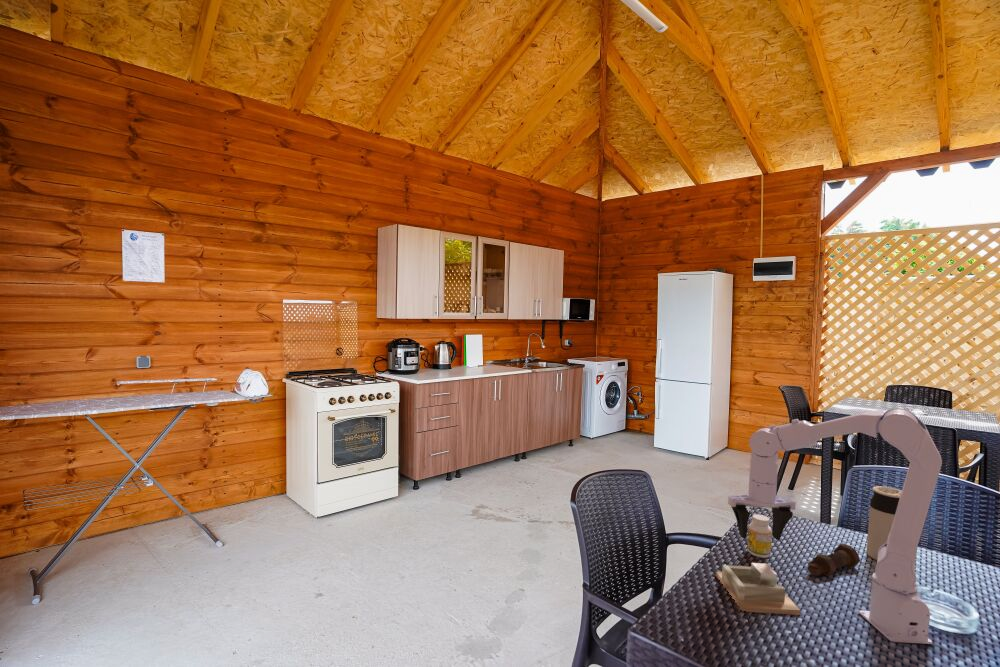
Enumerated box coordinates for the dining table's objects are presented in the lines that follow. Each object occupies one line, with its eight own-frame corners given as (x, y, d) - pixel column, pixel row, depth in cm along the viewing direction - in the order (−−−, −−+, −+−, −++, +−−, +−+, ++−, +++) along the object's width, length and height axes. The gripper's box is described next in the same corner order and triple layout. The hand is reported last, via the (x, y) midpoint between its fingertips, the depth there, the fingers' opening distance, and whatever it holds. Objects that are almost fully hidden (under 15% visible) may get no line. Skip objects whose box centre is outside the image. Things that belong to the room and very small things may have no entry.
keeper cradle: (800, 614, 105) (801, 596, 104) (741, 611, 105) (743, 592, 105) (767, 578, 119) (768, 562, 118) (716, 575, 119) (717, 559, 119)
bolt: (808, 583, 121) (844, 568, 128) (828, 582, 117) (864, 566, 124) (798, 557, 123) (833, 544, 130) (816, 555, 119) (852, 542, 126)
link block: (775, 596, 109) (777, 574, 109) (759, 595, 110) (760, 573, 109) (765, 585, 114) (767, 563, 114) (750, 584, 114) (751, 562, 114)
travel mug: (859, 553, 133) (864, 487, 132) (879, 549, 136) (884, 484, 135) (891, 568, 126) (897, 498, 125) (911, 563, 129) (917, 494, 128)
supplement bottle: (771, 560, 128) (774, 523, 127) (748, 555, 130) (750, 519, 129) (768, 550, 133) (770, 515, 133) (746, 546, 135) (748, 511, 134)
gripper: (785, 476, 120) (782, 531, 121) (724, 473, 121) (721, 528, 121) (802, 486, 113) (798, 545, 114) (736, 483, 114) (733, 541, 114)
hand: (759, 537), depth 117 cm, fingers open, 7 cm apart
